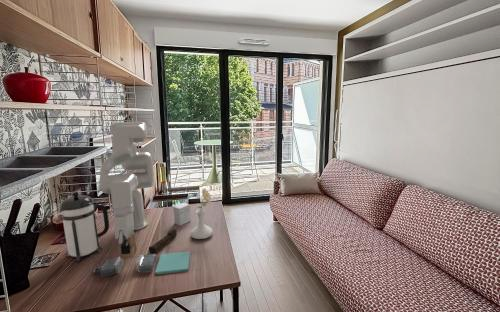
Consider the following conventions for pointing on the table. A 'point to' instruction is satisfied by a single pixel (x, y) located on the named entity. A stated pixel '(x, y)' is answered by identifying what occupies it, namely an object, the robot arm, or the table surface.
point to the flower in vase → (202, 229)
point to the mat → (173, 262)
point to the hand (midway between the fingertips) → (128, 249)
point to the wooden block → (132, 247)
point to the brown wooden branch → (163, 241)
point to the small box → (182, 213)
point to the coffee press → (81, 225)
